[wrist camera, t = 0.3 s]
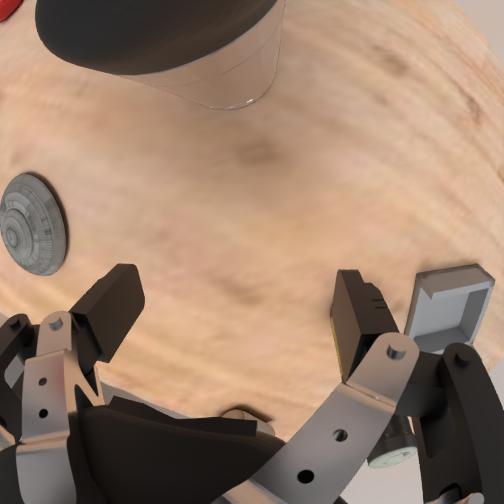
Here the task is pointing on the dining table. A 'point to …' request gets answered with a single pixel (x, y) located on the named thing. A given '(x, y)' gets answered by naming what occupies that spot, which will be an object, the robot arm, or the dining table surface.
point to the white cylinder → (244, 415)
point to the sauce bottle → (389, 436)
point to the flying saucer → (32, 226)
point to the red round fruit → (7, 8)
